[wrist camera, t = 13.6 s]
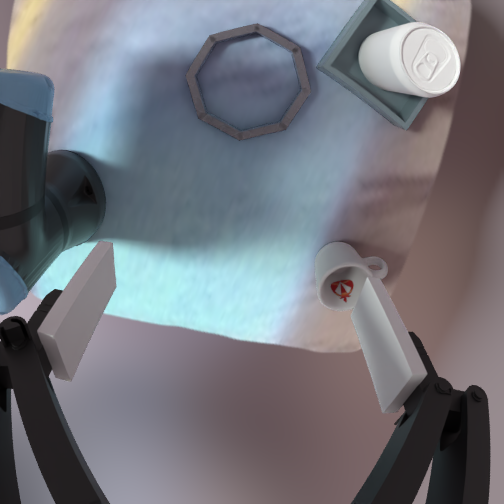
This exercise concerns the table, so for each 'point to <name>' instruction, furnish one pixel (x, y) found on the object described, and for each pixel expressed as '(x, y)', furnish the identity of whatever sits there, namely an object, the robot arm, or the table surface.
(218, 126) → the collar
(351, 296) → the cup
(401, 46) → the beverage can
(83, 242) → the robot arm
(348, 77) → the bin
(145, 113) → the table surface
